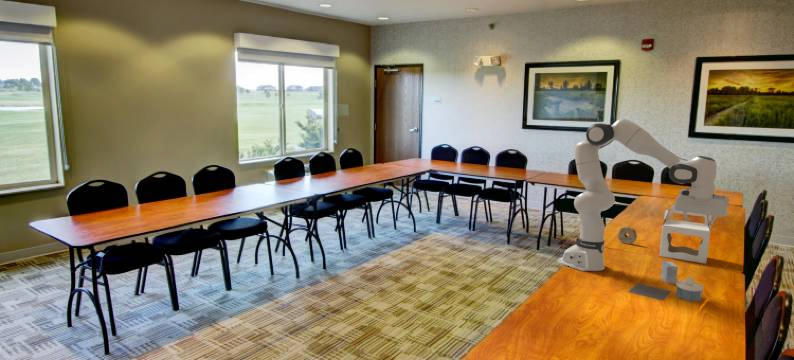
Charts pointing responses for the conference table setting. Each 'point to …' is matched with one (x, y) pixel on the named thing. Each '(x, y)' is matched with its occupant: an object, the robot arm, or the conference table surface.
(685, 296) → the bowl
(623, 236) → the stone disc
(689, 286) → the lid
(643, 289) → the mat
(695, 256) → the gable box
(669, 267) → the medicine box
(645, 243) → the conference table surface
